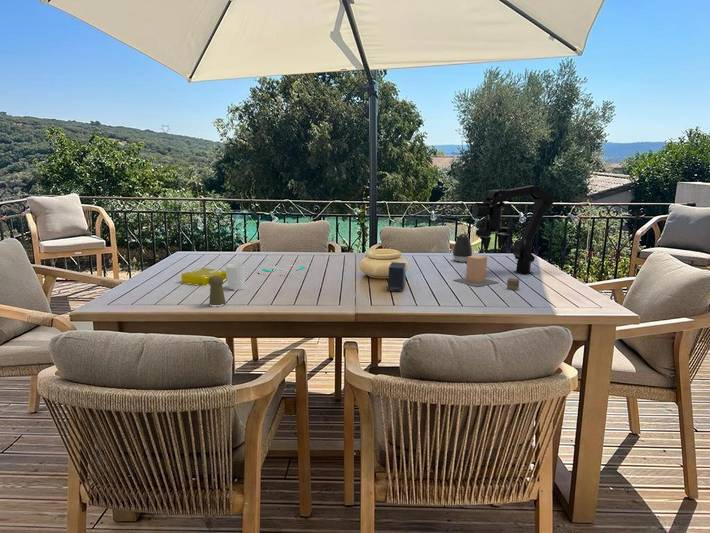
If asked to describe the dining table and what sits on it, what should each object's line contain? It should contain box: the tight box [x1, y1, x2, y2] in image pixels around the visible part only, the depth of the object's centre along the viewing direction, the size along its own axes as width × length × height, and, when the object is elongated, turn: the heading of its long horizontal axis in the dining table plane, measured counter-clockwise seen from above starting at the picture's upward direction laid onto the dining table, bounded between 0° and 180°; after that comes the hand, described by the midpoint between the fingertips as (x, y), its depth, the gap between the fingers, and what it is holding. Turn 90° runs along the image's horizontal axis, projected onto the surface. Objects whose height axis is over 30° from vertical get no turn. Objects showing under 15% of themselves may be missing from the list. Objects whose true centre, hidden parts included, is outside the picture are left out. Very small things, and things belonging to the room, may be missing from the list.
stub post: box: [506, 277, 520, 291], centre depth 196 cm, size 4×4×4 cm
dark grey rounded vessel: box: [452, 233, 473, 263], centre depth 251 cm, size 10×10×15 cm
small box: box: [387, 261, 407, 293], centre depth 196 cm, size 11×6×10 cm, turn 168°
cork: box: [208, 276, 227, 305], centre depth 173 cm, size 6×6×11 cm
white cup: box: [225, 263, 246, 289], centre depth 196 cm, size 8×8×10 cm
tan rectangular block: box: [465, 254, 488, 283], centre depth 207 cm, size 6×6×11 cm
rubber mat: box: [452, 277, 500, 288], centre depth 209 cm, size 14×14×1 cm
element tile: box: [180, 267, 227, 286], centre depth 210 cm, size 15×15×5 cm
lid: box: [262, 263, 306, 272], centre depth 233 cm, size 28×28×2 cm
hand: (492, 249), depth 220 cm, fingers open, 9 cm apart
